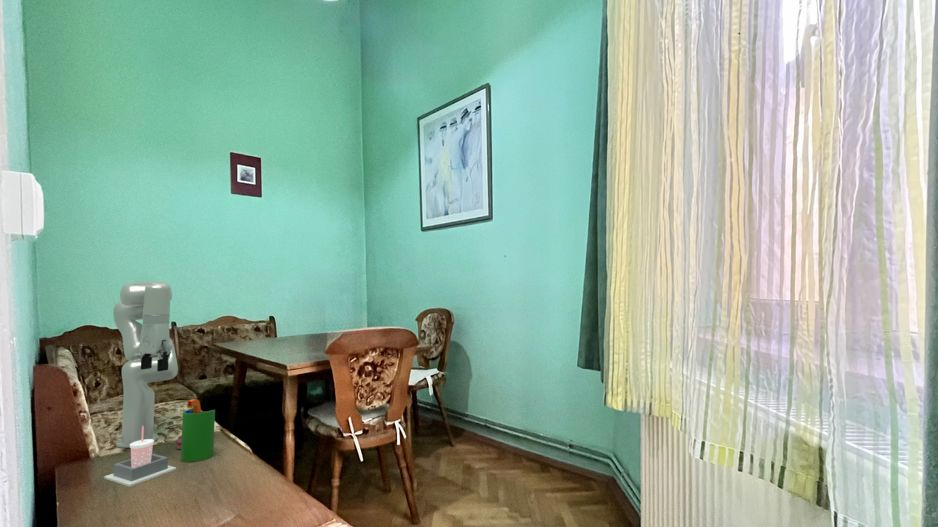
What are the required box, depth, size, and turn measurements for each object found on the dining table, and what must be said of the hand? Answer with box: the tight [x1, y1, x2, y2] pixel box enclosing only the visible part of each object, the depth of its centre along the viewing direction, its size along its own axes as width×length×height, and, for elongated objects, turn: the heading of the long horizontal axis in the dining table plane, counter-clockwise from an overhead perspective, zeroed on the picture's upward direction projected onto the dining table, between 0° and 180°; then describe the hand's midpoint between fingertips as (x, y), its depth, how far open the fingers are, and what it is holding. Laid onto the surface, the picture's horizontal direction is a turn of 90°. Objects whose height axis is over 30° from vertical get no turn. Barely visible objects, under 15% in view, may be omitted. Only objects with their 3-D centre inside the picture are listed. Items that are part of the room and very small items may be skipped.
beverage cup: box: [129, 426, 155, 468], centre depth 131 cm, size 6×6×14 cm
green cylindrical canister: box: [180, 398, 216, 463], centre depth 145 cm, size 10×9×20 cm
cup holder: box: [103, 453, 177, 488], centre depth 131 cm, size 14×13×4 cm
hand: (154, 369), depth 144 cm, fingers open, 9 cm apart
